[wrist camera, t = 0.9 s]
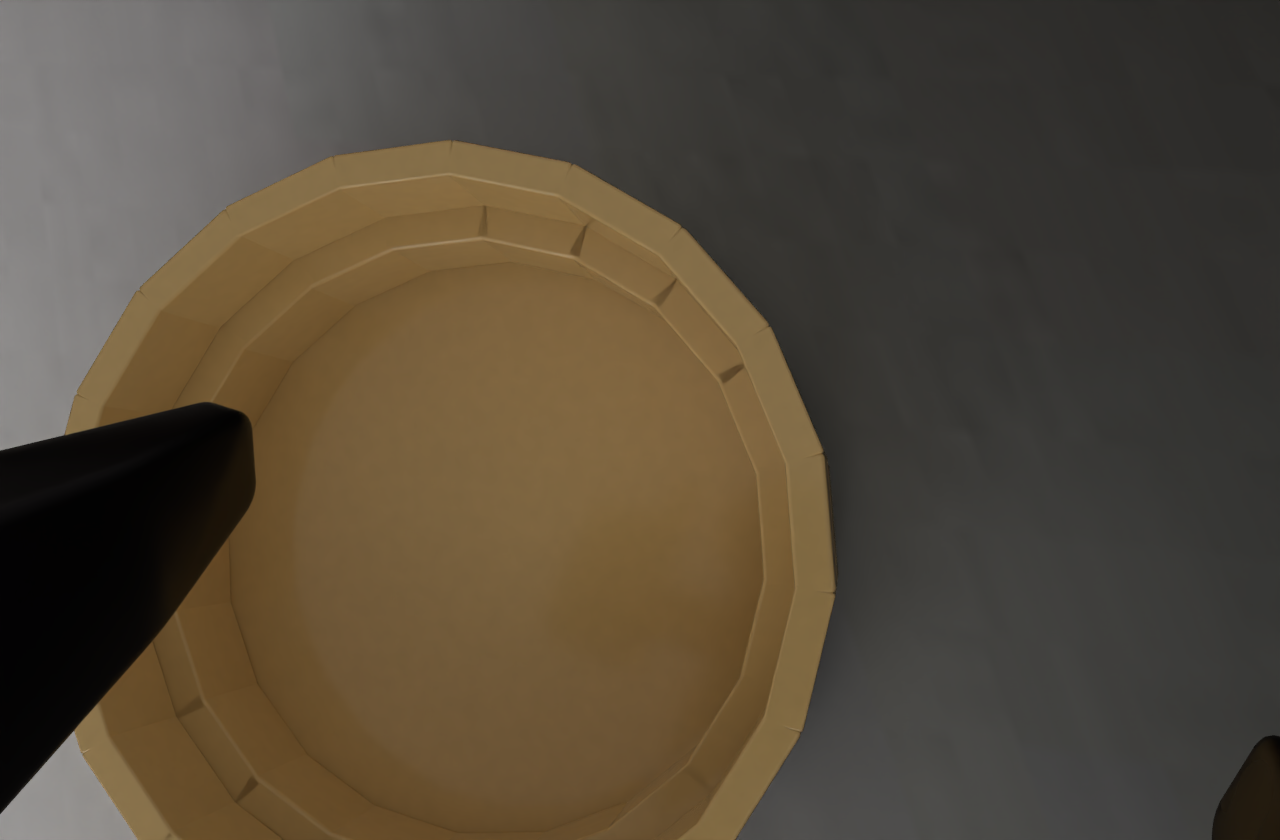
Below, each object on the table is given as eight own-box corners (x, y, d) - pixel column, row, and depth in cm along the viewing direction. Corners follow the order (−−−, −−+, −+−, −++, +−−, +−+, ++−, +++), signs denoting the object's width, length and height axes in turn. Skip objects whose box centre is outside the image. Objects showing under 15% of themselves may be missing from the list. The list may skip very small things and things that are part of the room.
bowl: (864, 886, 23) (867, 988, 18) (200, 889, 26) (49, 978, 21) (805, 174, 25) (794, 92, 20) (183, 251, 27) (38, 194, 22)
